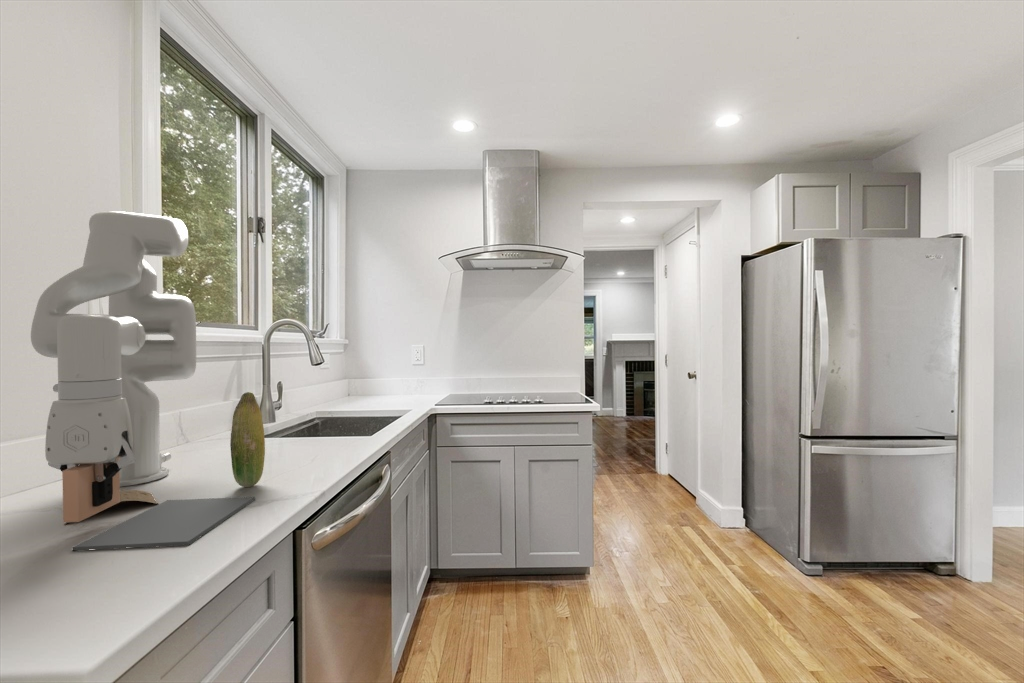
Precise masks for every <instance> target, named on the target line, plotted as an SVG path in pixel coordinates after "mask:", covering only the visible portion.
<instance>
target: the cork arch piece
mask: <svg viewBox="0 0 1024 683" xmlns="http://www.w3.org/2000/svg"><path fill="white" fill-rule="evenodd" d="M152 495H153V493H152V494H151V492H149V491H145V490H140V489H139V490H138V489H127V490H126V489H125V490H122V489H120V502H119V503H121V502H126V501H127V502H129V501H139V502H144V503H145V502H147V503H153V504H157V503H158V502H157V500H156V499H155V497H154V495H153V496H152ZM154 499H155V500H156V501H155V500H154ZM157 505H158V504H157ZM68 523H69V522H64V524H63V525H67V524H68Z"/></svg>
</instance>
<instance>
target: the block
mask: <svg viewBox="0 0 1024 683" xmlns="http://www.w3.org/2000/svg"><path fill="white" fill-rule="evenodd" d="M117 461H119V457H117ZM106 468H107V464H106ZM61 473H62V476H61V477H62V520H63V521H62V522H63V523H66V522H68V523H80V522H82V521H83V520H86V519H88V518H91V517H92V516H94V515H96V514H98V513H100V512H102V511H104V510H107V509H109V508H111V507H112V506H114V505H117V504H119V503H121V502H120V490H121V487H120V478H119V471H118V472H117V475H116V476H114V477H113V495H112V500H111V501H109V502H107V503H104V504H102V505H100V506H98V507H94V506H93V494H92V482H95V481H96V476H95V464H81V465H78V466H75V467H72V468H69V469H66V470H63V471H61Z"/></svg>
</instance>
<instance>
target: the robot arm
mask: <svg viewBox="0 0 1024 683" xmlns="http://www.w3.org/2000/svg"><path fill="white" fill-rule="evenodd" d="M88 228H89V235H88V239H87V244H86V248H85V249H86V250H85V254H84V258H83V264H82V266H81V267H79V268H76V269H74V270H73V271H71V272H69V273H67V274H64V276H61V277H60V278H59V279H57V280H56V281H54V282H53V283H52V284H50V285H49V286H48V287H47V288H46V289H44V290H43V292H42V294H41V295H40V296H39V299H38V300H37V304H36V308H35V312H34V315H33V318H32V322H31V323H32V324H31V330H30V342H31V345H32V347H33V349H34V350H35V352H37V353H38V354H40V355H41V356H44V357H47V358H53V359H57V383H56V384H54V385H53V386H52V390H53V392H54V393H57V398H58V399H57V400H54V401H52V403H51V406H50V409H49V413H48V418H47V424H46V429H45V430H46V433H45V446H44V447H45V448H44V449H45V450H44V451H45V460H46V461H47V464H48V466H49V467H51V468H53V469H57V470H60V472H62V471H63V470H66V469H69V468H72V467H75V466H78V465H81V464H95V476H96V481H95V482H92V494H93V506H94V507H98V506H100V505H102V504H104V503H107V502H109V501H111V500H112V495H113V477H114V476H116V475H117V472H118V471H119V478H120V488H122V487H129V486H135V485H141V484H145V483H149V482H155V481H157V480H160V479H163V478H165V477H167V476H168V475H169V468H167V467H162V464H163V463H165V462H167V461H170V460H171V458H172V455H171V453H170V452H165V453H161V452H160V451H161V450H160V449H161V448H160V444H161V443H160V442H161V441H160V439H161V438H160V436H161V435H160V401H159V397H158V396H157V394H156V393H155V392H154V391H153V390H152V389H151V388H149V387H148V386H147V385H146V384H145V383H147V382H161V381H163V382H165V381H180V380H188V379H190V378H191V377H192V376H194V374H195V372H196V369H197V320H196V318H197V317H196V316H197V315H196V308H195V305H194V303H193V301H192V300H191V299H190V298H189V297H187V296H184V295H179V294H163V293H162V294H160V293H158V275H157V273H156V271H155V269H154V268H153V267H152V266H151V265H150V264H149V263H148V262H147V261H146V260H145V259H144V257H145V256H149V257H150V256H151V257H152V256H154V257H168V258H178V257H180V256H181V255H183V254H185V252H186V251H187V248H188V246H189V230H188V228H187V226H186V224H185V223H184V222H183V220H181V219H179V218H175V217H174V218H173V217H169V216H162V215H154V214H145V213H137V212H130V211H129V212H128V211H127V212H126V211H118V210H117V211H116V210H115V211H114V210H113V211H102V212H101V211H100V212H97V213H96V212H95V213H94V214H93V215H91V217H90V218H89V221H88ZM105 297H108V314H100V313H99V314H98V313H97V314H96V313H95V314H94V313H92V314H89V313H69V312H70V311H71V310H72V309H73V308H75V307H77V306H79V305H82V304H85V303H87V302H90V301H94V300H98V299H101V298H105ZM146 335H158V336H159V335H163V336H164V335H165V336H166V335H167V336H171V337H172V338H173V339H146ZM117 457H119V461H117ZM106 464H107V468H106Z"/></svg>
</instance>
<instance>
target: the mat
mask: <svg viewBox="0 0 1024 683" xmlns="http://www.w3.org/2000/svg"><path fill="white" fill-rule="evenodd" d="M255 499H256V497H255V496H238V497H235V496H234V497H233V496H232V497H214V498H212V497H211V498H195V499H194V498H192V499H191V498H189V499H169V500H167V499H166V500H165V501H163V502H161V503H158V504H157V505H155V506H153V507H151V508H149V509H147V510H144V511H143V512H141V513H139V514H137V515H135V516H132V517H130V518H129V519H126V520H124V521H122V522H121V523H118V524H116V525H115V526H112V527H110V528H107V529H106V530H104V531H102V532H100V533H98V534H96V535H94V536H92V537H91V538H88V539H86V540H84V541H82V542H80V543H78V544H76V545H74V546H71V547H72V549H71V550H88V551H90V550H89V549H107V550H115V549H114V548H126V547H147V548H157V547H156V546H159V547H158V548H161V547H160V546H167V547H185V546H189V544H190V545H191V544H192V542H193V541H194V542H196V541H197V540H199V539H200V538H201V537H203V536H204V535H206V534H208V531H209V532H210V531H212V530H213V529H214V528H216V527H217V526H219V525H220V524H222V523H223V522H225V521H226V520H227V519H229V518H230V517H232V516H234V515H235V514H236V513H238V512H239V511H241V510H242V509H243V508H245V507H246V506H248V505H249V504H251V503H252V502H253V501H255ZM224 520H225V521H224ZM221 522H222V523H221ZM218 524H219V525H218ZM215 526H216V527H215ZM212 528H213V529H212ZM205 533H206V534H205ZM203 534H204V535H203ZM202 535H203V536H202ZM200 536H201V537H200ZM199 537H200V538H199ZM196 539H197V540H196ZM194 542H193V543H194Z"/></svg>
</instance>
